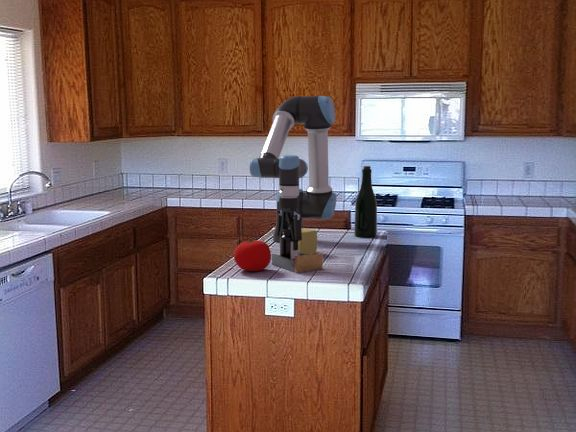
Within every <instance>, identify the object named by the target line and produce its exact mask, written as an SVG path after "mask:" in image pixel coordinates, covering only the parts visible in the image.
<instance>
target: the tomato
mask: <svg viewBox="0 0 576 432" xmlns="http://www.w3.org/2000/svg"><path fill="white" fill-rule="evenodd" d="M233 258H234V262H235V263H236V265H237V266H238V268H240V269H241V270H245V271H247V272H259V271H263V270H265V269H266V268H268V266H269V265H270V264H271V262H272V252H271V249H270V246H269V245H268V244H267V243H266V242H265V241H263V240H259V239H252V238H250V239H247V240H245V241H244V240H243V241H240V244H238V245H237V246H236V247H235V250H234V252H233Z"/></svg>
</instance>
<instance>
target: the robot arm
mask: <svg viewBox="0 0 576 432" xmlns="http://www.w3.org/2000/svg"><path fill="white" fill-rule="evenodd" d="M335 122H336V110H335V105H334V101H333V100H332V98H331V97H329V96H326V95H325V96H324V95H305V96H304V95H303V96H302V95H301V96H300V95H296V96H291V97H290V98H288V99H286V100H284V101H283V102H282V103H281V104H279V106H278V107H277V108H276V109H275V111H274V113H273V115H272V124H271V127H270V129H269V132H268V135H267V137H266V138H265V139H266V140H265V141H264V144H263V147H262V149H261V152H260V155H259V156H258V157H255V158H252V159H251V160H250V162H249V173H250V176H252V177H253V178H259V179H260V178H261V179H264V178H265V179H278V181H279V182H278V184H279V185H278V187H279V188H278V192H277V193H276V225H275V228H274V231H273V233H272V241H273V242H276V243H280V237H281V236H282V235H283V233H282V232H283V228H286V227H290V232H291V237H292V240H291V259H295V256H298V241H300V240H302V231H301V228H304V225H303V219H316V220H329V219H331V218H333V216H334V214H335V211H336V205H337V194H336V193H335V192H333V188H332V187H331V186H330V182H329V141H328V140H329V139H328V138H329V137H328V136H329V134H328V133H329V132H328V131H329V130H330V129H331V128H332V125H333V124H335ZM295 124H302V125H303V129H304V130H305V131H306V132H307V147H308V148H307V151H308V154H307V155H308V156H307V157H308V163H307V162H306V161H305V160H304V159H302V158H300V157H299V156H298V155H294V154H293V155H292V154H291V155H289V154H287V155H286V154H285V155H281V154H282V151H283V149H284V145H285V143H286V141H287V137H288V135H289V132H290V130H291V129H292V128H293V127H294V125H295ZM280 155H281V156H280ZM307 173H308V183H309V185H308V186H307V187H306V189H305V191H304V190H303V188H300V179H302V178H303V177H305V175H307ZM304 229H305V228H304Z"/></svg>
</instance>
